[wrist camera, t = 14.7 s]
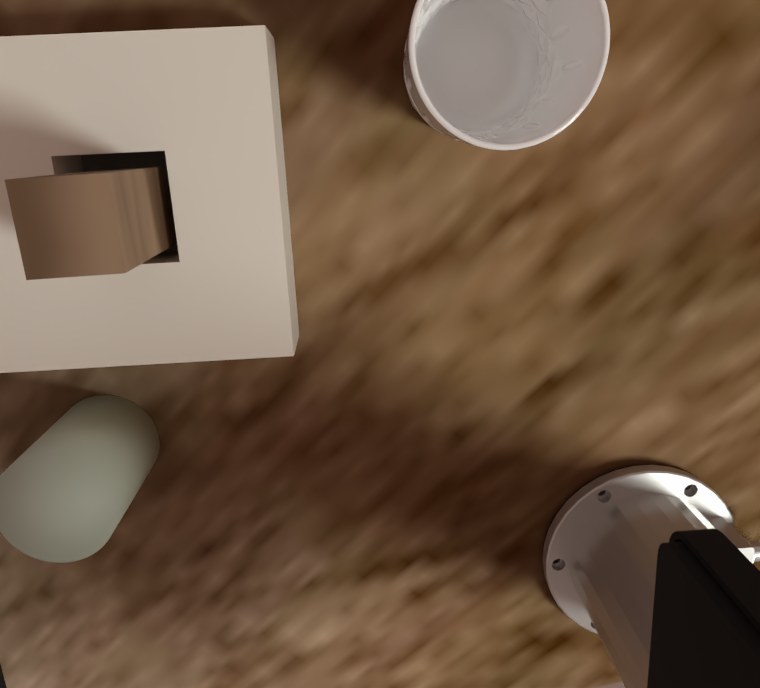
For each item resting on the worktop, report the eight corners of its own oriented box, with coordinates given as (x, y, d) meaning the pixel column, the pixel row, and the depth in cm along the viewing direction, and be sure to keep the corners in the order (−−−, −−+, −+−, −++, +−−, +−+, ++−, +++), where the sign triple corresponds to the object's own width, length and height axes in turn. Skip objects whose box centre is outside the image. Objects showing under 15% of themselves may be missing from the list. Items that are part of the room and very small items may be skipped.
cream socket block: (274, 38, 34) (264, 25, 31) (299, 335, 39) (293, 356, 35) (-41, 52, 34) (-90, 40, 30) (22, 351, 39) (-14, 373, 35)
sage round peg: (152, 391, 40) (105, 451, 32) (166, 482, 41) (125, 558, 34) (50, 398, 40) (-22, 459, 32) (68, 488, 41) (5, 566, 34)
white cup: (371, 117, 36) (379, 107, 26) (424, -37, 34) (454, -108, 24) (505, 169, 37) (559, 178, 27) (564, 23, 35) (645, -22, 25)
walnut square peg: (171, 165, 36) (107, 173, 26) (183, 239, 37) (124, 273, 27) (96, 170, 36) (4, 179, 26) (110, 244, 37) (26, 280, 27)
